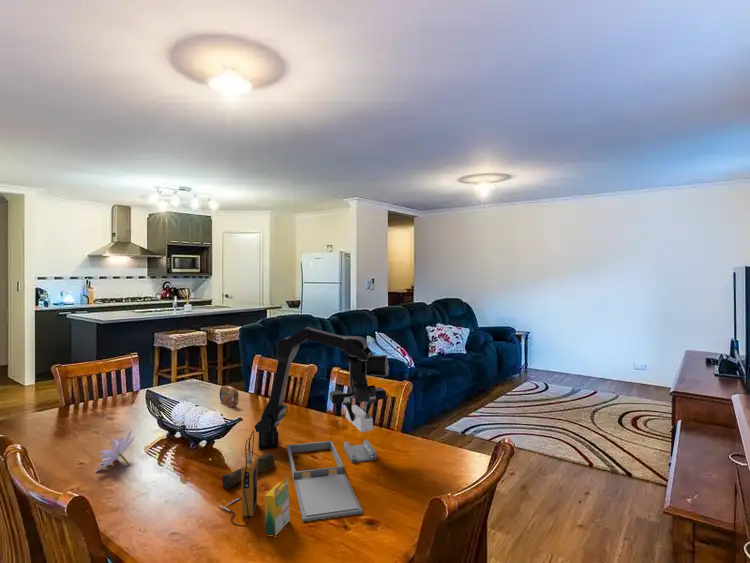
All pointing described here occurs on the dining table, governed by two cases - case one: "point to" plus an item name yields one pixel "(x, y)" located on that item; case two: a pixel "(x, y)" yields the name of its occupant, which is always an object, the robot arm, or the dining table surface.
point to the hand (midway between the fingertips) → (358, 420)
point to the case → (323, 487)
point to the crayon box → (277, 508)
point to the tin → (229, 396)
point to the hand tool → (235, 477)
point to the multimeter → (248, 484)
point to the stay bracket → (360, 452)
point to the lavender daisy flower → (116, 451)
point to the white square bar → (360, 419)
